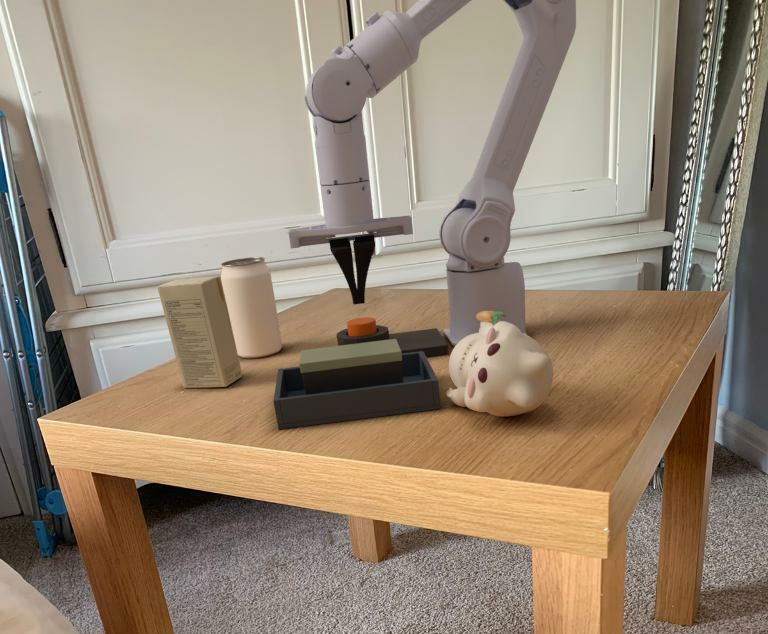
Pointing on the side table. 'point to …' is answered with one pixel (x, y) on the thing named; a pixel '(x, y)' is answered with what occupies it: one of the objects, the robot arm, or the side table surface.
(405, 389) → the tray
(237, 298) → the can
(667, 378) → the side table surface
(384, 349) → the green-topped black block
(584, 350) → the side table surface
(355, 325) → the button
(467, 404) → the cat figurine
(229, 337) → the cosmetic box
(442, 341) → the control block
